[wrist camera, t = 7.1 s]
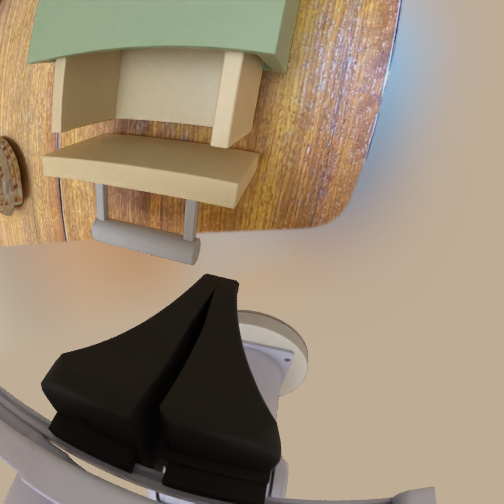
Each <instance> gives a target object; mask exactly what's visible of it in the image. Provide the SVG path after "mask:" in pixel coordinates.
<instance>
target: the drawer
mask: <svg viewBox="0 0 504 504" xmlns="http://www.w3.org/2000/svg"><path fill="white" fill-rule="evenodd" d="M263 67H264V61H263V60H262V59H261V58H260V57H259V56H258V55H257V54H250V53H242V52H233V51H222V50H208V49H186V48H153V49H131V50H117V51H107V52H98V53H90V54H83V55H77V56H71V57H65V58H60V59H56V66H55V75H54V86H53V101H52V133H61V132H65V131H68V130H72V129H75V128H79V127H82V126H86V125H90V124H94V123H98V122H102V121H106V120H111V119H134V120H148V121H160V122H171V123H180V124H189V125H197V126H204V127H212V134H211V141H210V145H208V144H201V143H194V142H187V141H180V140H172V139H163V138H155V137H145V136H134V135H123V134H109V133H106V134H103V135H100V136H96V137H93V138H90V139H87V140H84V141H81V142H78V143H75V144H72V145H70V146H67V147H64V148H61V149H59V150H56V151H53V152H51V153H48V154H46V155H43V156H42V162H43V175H45V176H52V177H59V178H66V179H72V180H79V181H85V182H92V183H95V186H96V207H97V218H96V220H95V221H94V223H93V226H92V237H93V239H94V240H96V241H100V242H104V243H107V244H111V245H115V246H119V247H122V248H127V249H130V250H134V251H138V252H142V253H146V254H150V255H153V256H158V257H161V258H166V259H170V260H174V261H177V262H181V263H186V264H190V265H194V264H195V263H196V261H197V258H198V255H199V251H200V239H199V238H195V237H196V227H197V216H198V206H199V202H203V203H208V204H213V205H217V206H222V207H227V208H232V209H234V208H235V207H236V205H237V203H238V201H239V200H240V198H241V196H242V194H243V193H244V191H245V189H246V187H247V186H248V184H249V182H250V181H251V179H252V177H253V175H254V174H255V172H256V170H257V165H258V159H259V154H258V153H253V152H248V151H243V150H237V149H232V148H229V147H231V146H232V145H233V144H235V143H236V142H237V141H239V140H240V139H242V138H243V137H244V136H246V135H247V134H249V133H251V132H252V126H253V120H254V115H255V109H256V104H257V98H258V93H259V88H260V82H261V77H262V72H263ZM108 185H110V186H116V187H122V188H128V189H134V190H139V191H145V192H150V193H156V194H161V195H167V196H172V197H177V198H182V199H186V204H185V218H184V233H183V235H182V234H177V233H173V232H168V231H164V230H159V229H155V228H151V227H146V226H142V225H137V224H133V223H128V222H124V221H119V220H115V219H110V218H108V217H109V211H108Z"/></svg>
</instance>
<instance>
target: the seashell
mask: <svg viewBox="0 0 504 504" xmlns="http://www.w3.org/2000/svg"><path fill="white" fill-rule="evenodd" d="M22 202H23V192H22V186H21V176H20V170H19V166H18V162H17V159H16V156H15V153H14V151H13V149H12V148H11V146H10V144H9V143H8V142H7V141H6V140H5V139H4V138H0V213H2V214H4V215H9V216H11V215H13V211H14V207H15V205H19V204H22Z"/></svg>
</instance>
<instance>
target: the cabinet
mask: <svg viewBox="0 0 504 504" xmlns="http://www.w3.org/2000/svg"><path fill="white" fill-rule="evenodd" d="M299 5H300V0H39V3H38V7H37V11H36V16H35V20H34V25H33V30H32V36H31V41H30V48H29V55H28V63H27V64H36V63H54V62H56V59H60V58H65V57H71V56H77V55H83V54H90V53H98V52H107V51H117V50H131V49H153V48H186V49H208V50H222V51H233V52H242V53H250V54H257V55H258V56H259V57H260V58H261V59H262V60H263V61H264V67H263V70H265V71H271V72H276V73H282V74H286V71H287V66H288V61H289V56H290V51H291V46H292V41H293V36H294V31H295V25H296V20H297V15H298V10H299Z"/></svg>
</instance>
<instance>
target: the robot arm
mask: <svg viewBox="0 0 504 504" xmlns="http://www.w3.org/2000/svg"><path fill="white" fill-rule="evenodd" d="M238 287H239V283H238V282H237V281H235V280H231V279H226V278H223V277H218V276H214V275H210V274H205V275H203V276H202V277H201V279H199V280H198V281H197V282H196V283H195V284H194V285H193V286H192V287H191V288H189V290H187V291H186V292H185V293H184V294H182V295H181V296H180V297H179V298H177V299H176V300H175V301H174V302H172V303H171V304H170V305H169V306H167V307H166V308H164V309H163V310H161V311H160V312H159V313H157V314H156V315H154V316H153V317H151V318H150V319H148V320H146V321H145V322H143V323H141V324H140V325H138V326H136V327H134V328H132V329H130V330H128V331H126V332H125V333H122V334H120V335H118V336H116V337H114V338H111V339H109V340H106V341H103V342H101V343H98V344H95V345H92V346H89V347H86V348H83V349H79V350H75V351H71V352H67V353H63V354H62V355H61V356H60V357H59V358H58V359H57V360H56V362H55V363H54V365H53V366H52V367H51V369H50V370H49V372H48V373H47V375H46V376H45V378H44V379H43V381H42V382H41V386H42V390H43V392H44V394H45V395H46V397H47V398H48V400H49V401H50V403H51V404H52V405H53V407H54V408H55V410H56V411H57V413H56V415H55V417H54V419H53V420H52V422H51V421H50V420H48V419H47V418H45V417H43V416H42V415H40V414H39V413H37V412H35V411H34V410H33V409H31V408H30V407H28V406H27V405H25V404H24V403H22V402H21V401H20V400H18V399H16V398H15V397H14V396H13V395H11V394H10V393H9V392H7V391H6V390H5V389H3V388H2V387H1V386H0V458H1V459H2V460H3V461H5V462H6V463H7V464H8V465H9V466H10V467H12V468H13V469H14V470H15V471H17V472H18V473H17V475H16V477H15V479H14V481H13V483H12V485H11V487H10V489H9V491H8V494H7V496H6V498H5V500H4V502H3V504H436V500H435V488H434V487H427V488H422V489H415V490H409V491H406V492H402V493H399V494H397V495H395V496H394V497H393V498H383V499H372V500H371V499H370V500H351V501H321V500H318V501H317V500H300V499H286V498H285V495H286V489H287V481H288V463H287V462H286V461H285V460H284V459H283V457H282V456H281V442H280V436H279V431H278V427H277V422H276V416H277V409H278V400H279V392H280V387H281V385H282V383H283V381H284V379H285V377H286V374H287V372H288V370H289V368H290V366H291V363H292V361H293V359H294V352H293V351H291V350H286V349H281V348H276V347H271V346H266V345H262V344H257V343H253V342H248V341H244V340H242V339H241V334H240V329H239V322H238V313H237V293H238ZM287 358H289V359H287ZM49 441H50V442H52V443H53V444H55V445H57V446H58V447H60V448H62V449H63V450H65V451H67V452H68V453H70V454H72V455H74V456H76V457H78V458H79V459H81V460H83V461H85V462H87V463H89V464H91V465H93V466H95V467H97V468H99V469H101V470H104V471H105V472H108V473H110V474H112V475H114V476H117V477H119V478H121V479H124V480H126V481H129V482H131V483H134V484H136V485H139V486H141V487H144V488H146V489H147V497H144V496H142V495H139V494H137V493H134V492H132V491H129V490H127V489H125V488H122V487H120V486H117V485H115V484H113V483H111V482H108V481H106V480H104V479H102V478H100V477H98V476H96V475H93V474H91V473H89V472H87V471H86V470H85V469H83V468H82V467H80V466H79V465H78V464H76V463H75V462H74V461H73V460H72V459H71V458H70V457H69V456H68V454H66V453H65V452H63V451H62V450H60V449H59V448H57V447H56V446H55V445H53V444H52V443H50V442H49Z"/></svg>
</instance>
